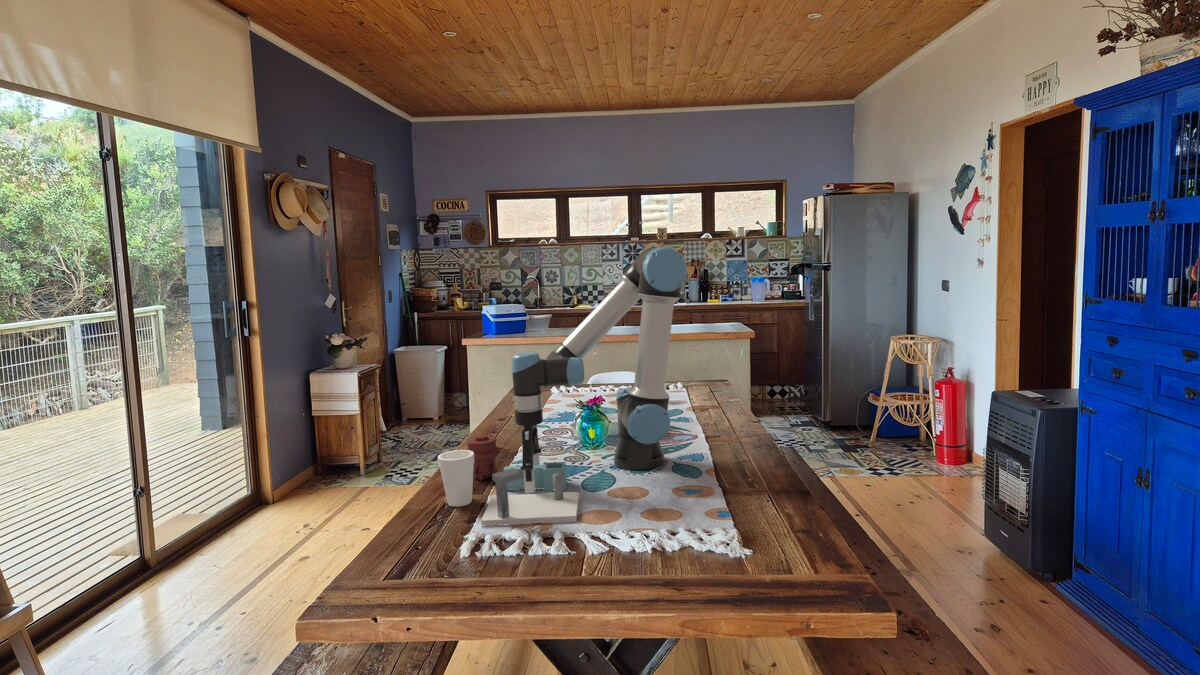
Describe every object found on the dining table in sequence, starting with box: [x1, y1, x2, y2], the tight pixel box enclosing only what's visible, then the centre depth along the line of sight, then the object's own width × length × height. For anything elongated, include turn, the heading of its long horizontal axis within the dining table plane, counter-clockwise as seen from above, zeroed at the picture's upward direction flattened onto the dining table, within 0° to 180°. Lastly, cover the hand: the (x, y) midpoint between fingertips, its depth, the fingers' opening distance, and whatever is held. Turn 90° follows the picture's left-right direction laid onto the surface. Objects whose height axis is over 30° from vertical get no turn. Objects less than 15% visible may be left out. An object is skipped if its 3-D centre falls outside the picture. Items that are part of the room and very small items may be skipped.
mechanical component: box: [466, 434, 500, 481], centre depth 213 cm, size 12×10×10 cm
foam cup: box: [437, 449, 474, 507], centre depth 193 cm, size 10×9×13 cm
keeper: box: [491, 468, 524, 519], centre depth 178 cm, size 6×4×12 cm
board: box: [480, 473, 580, 526], centre depth 183 cm, size 23×17×8 cm
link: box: [502, 461, 568, 491], centre depth 201 cm, size 17×6×6 cm, turn 89°
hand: (532, 484), depth 201 cm, fingers open, 13 cm apart
